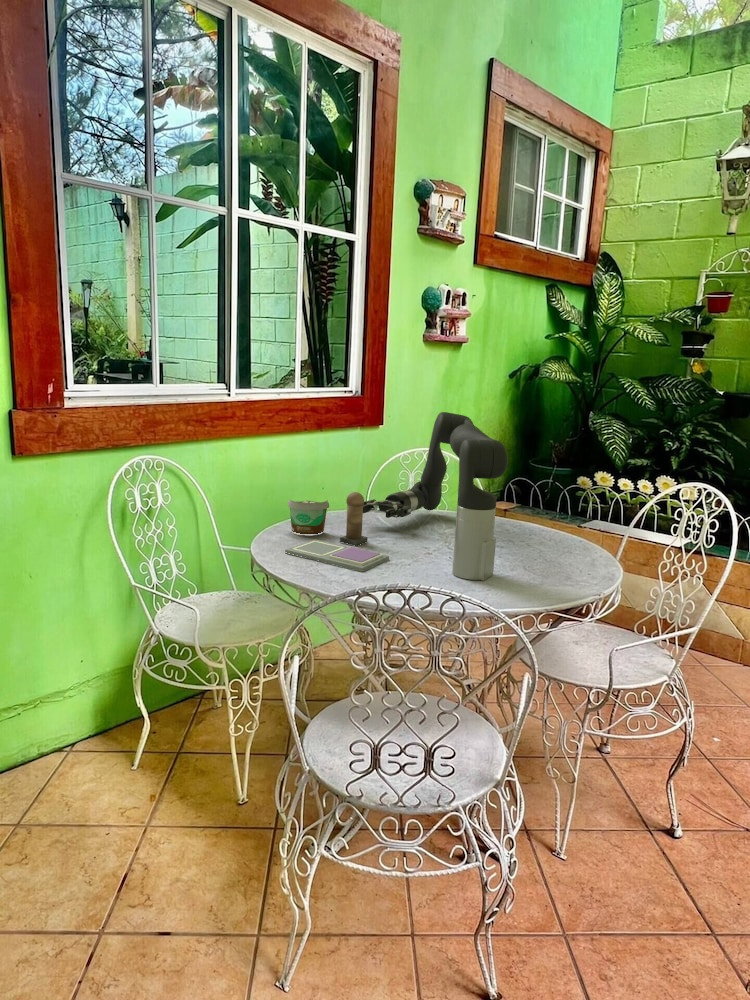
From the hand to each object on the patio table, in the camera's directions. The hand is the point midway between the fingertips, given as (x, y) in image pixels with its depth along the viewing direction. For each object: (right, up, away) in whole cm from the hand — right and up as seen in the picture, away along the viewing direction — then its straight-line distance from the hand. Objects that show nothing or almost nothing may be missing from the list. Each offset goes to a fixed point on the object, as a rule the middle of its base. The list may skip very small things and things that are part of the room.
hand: (374, 512), depth 189 cm
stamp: (-6, -8, -7) cm, 13 cm away
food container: (-20, -7, -1) cm, 21 cm away
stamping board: (-10, -11, -21) cm, 26 cm away
